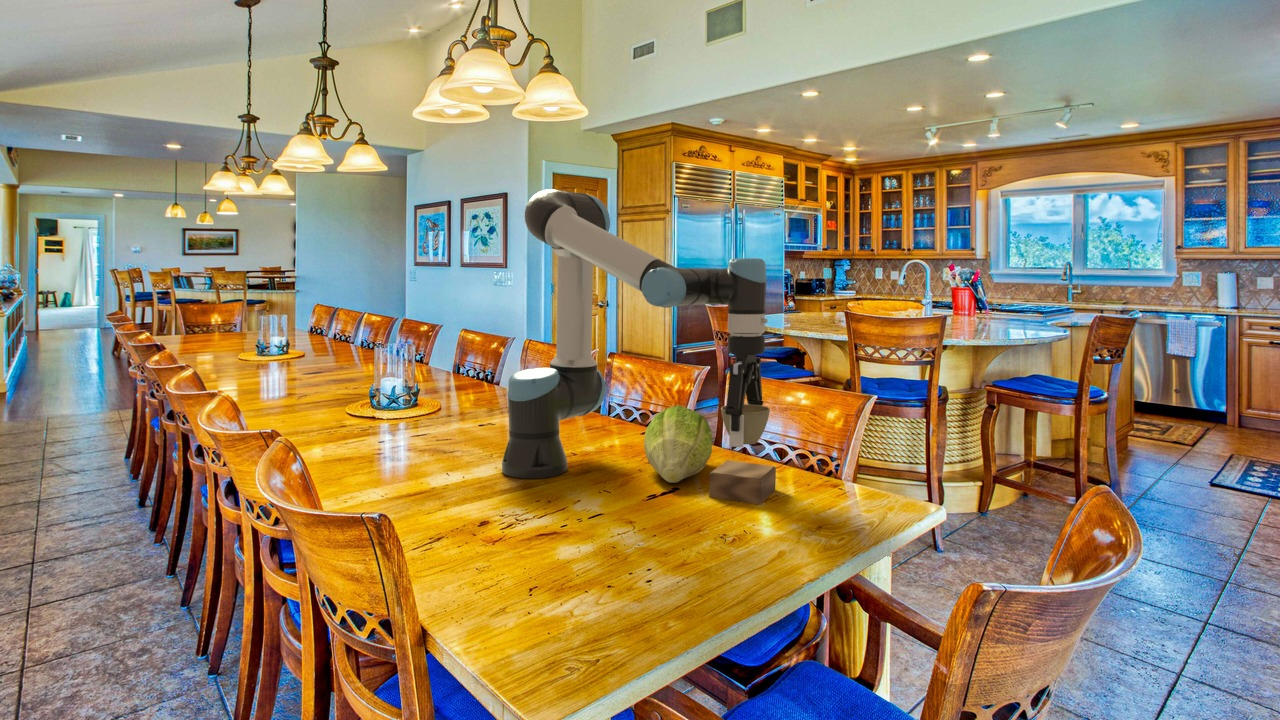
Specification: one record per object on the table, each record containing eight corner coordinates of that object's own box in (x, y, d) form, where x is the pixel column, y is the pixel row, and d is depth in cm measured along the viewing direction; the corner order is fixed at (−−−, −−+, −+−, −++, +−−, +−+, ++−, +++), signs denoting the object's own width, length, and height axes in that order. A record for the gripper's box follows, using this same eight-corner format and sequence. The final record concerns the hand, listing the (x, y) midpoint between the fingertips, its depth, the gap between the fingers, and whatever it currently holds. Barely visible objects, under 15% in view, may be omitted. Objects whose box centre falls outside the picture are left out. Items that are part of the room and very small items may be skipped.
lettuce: (710, 509, 151) (640, 512, 155) (717, 445, 173) (655, 450, 176) (700, 453, 145) (626, 458, 149) (708, 394, 166) (644, 400, 170)
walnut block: (709, 496, 145) (709, 472, 144) (726, 482, 154) (726, 459, 154) (760, 504, 140) (761, 479, 139) (775, 489, 150) (775, 465, 149)
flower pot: (769, 437, 150) (770, 404, 149) (768, 448, 140) (769, 413, 139) (722, 435, 152) (723, 402, 151) (718, 446, 142) (718, 411, 141)
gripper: (747, 339, 131) (745, 455, 134) (778, 331, 151) (776, 431, 154) (709, 338, 135) (708, 451, 137) (745, 329, 155) (743, 428, 157)
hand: (744, 440), depth 146 cm, fingers closed on flower pot, 10 cm apart
